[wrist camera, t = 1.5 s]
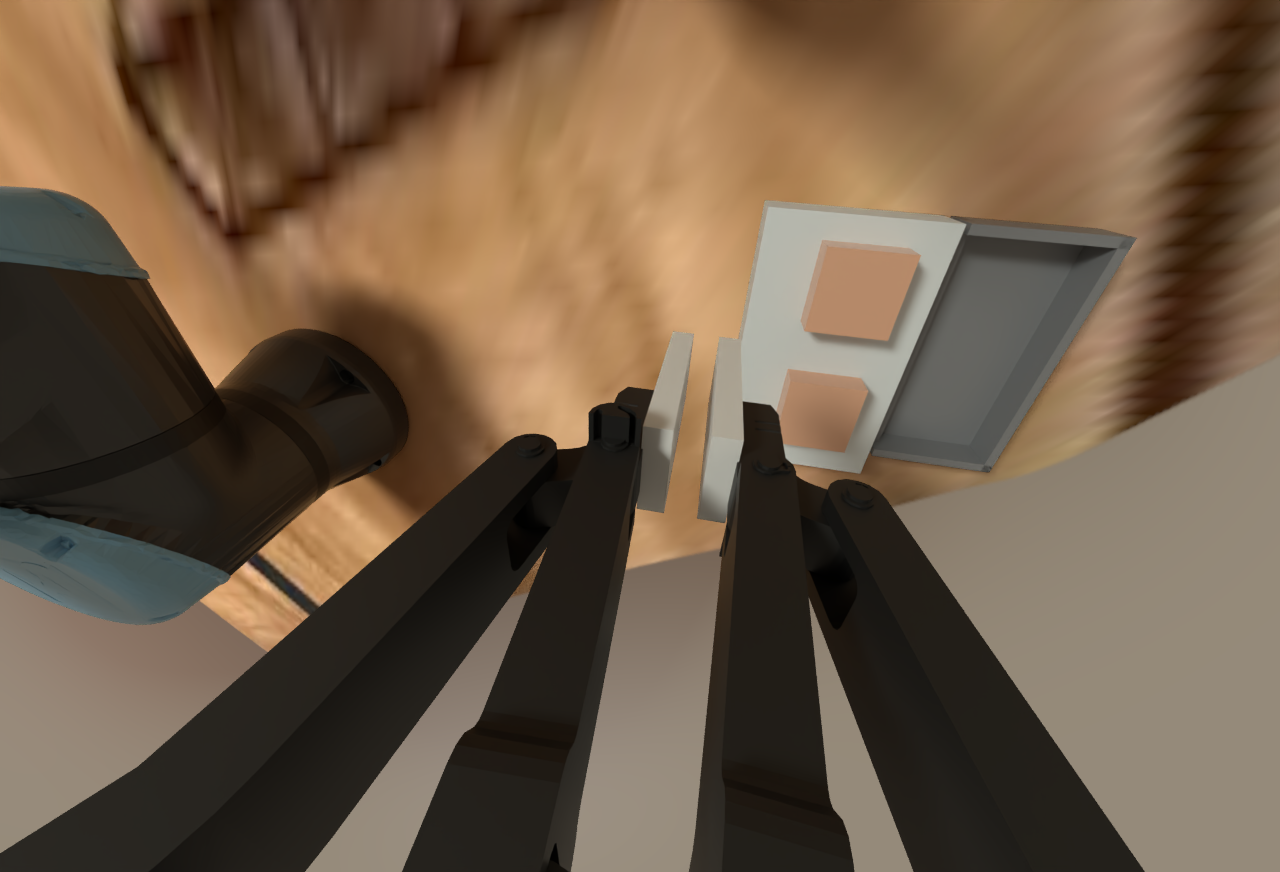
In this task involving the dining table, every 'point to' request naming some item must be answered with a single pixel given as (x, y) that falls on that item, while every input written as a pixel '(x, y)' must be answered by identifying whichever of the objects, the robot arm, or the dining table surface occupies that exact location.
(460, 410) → the dining table surface
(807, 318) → the tile near
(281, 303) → the dining table surface
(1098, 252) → the tray
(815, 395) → the tile far
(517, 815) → the robot arm
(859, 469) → the board
